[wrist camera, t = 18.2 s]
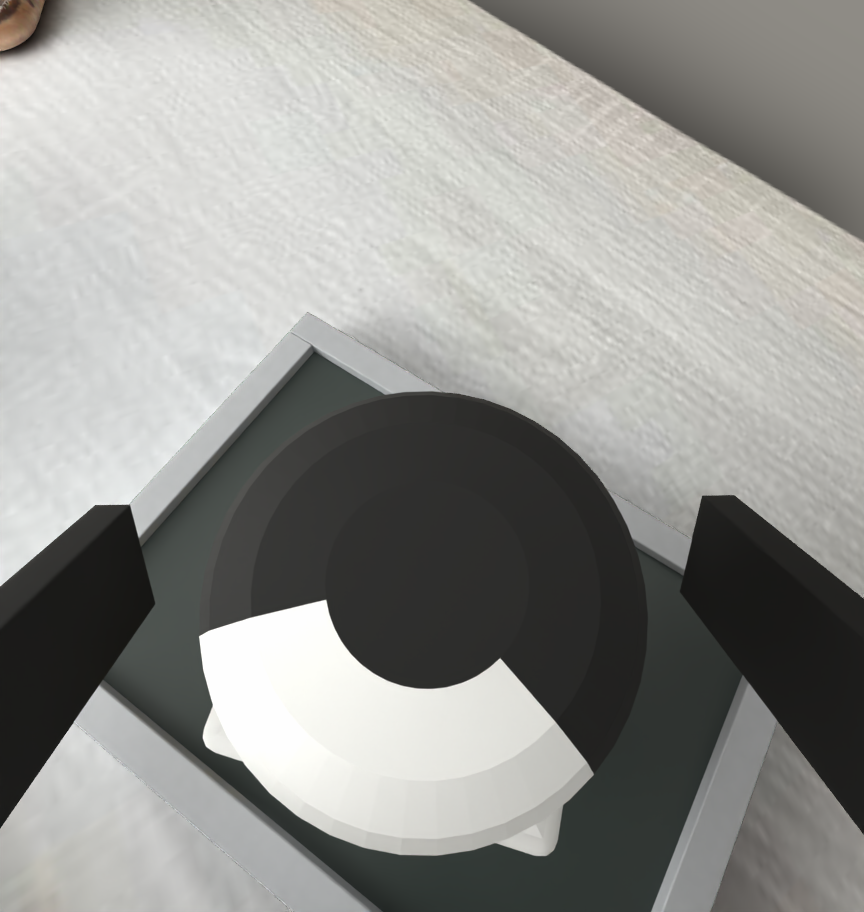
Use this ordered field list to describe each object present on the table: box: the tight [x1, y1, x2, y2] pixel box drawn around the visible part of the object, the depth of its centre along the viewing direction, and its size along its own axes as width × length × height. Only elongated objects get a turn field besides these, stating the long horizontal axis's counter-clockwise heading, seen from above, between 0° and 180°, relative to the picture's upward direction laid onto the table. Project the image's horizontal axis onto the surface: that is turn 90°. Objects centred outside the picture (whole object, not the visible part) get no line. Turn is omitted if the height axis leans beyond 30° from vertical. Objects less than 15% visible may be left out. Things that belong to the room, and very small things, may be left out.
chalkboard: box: [74, 312, 778, 912], centre depth 18 cm, size 22×16×2 cm
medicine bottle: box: [199, 391, 648, 856], centre depth 12 cm, size 7×7×12 cm
